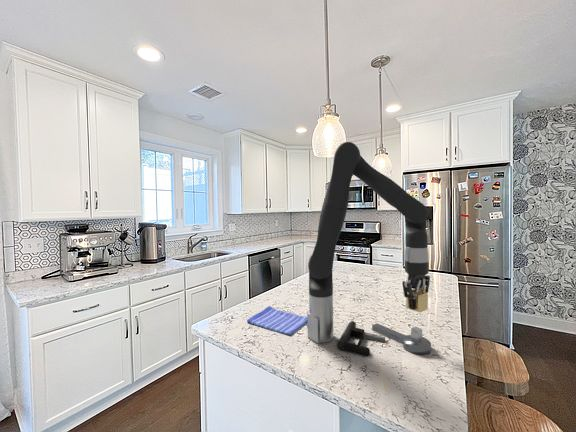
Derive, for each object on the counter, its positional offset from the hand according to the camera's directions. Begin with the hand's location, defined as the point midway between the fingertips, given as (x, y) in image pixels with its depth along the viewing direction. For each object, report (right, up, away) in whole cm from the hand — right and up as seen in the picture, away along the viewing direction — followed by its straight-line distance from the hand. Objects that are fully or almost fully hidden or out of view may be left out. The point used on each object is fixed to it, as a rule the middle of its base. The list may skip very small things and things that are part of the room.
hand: (416, 306), depth 94 cm
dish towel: (-50, -16, +24) cm, 58 cm away
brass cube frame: (0, -1, 0) cm, 1 cm away
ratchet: (-4, -15, +6) cm, 16 cm away
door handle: (-18, -16, +6) cm, 25 cm away
